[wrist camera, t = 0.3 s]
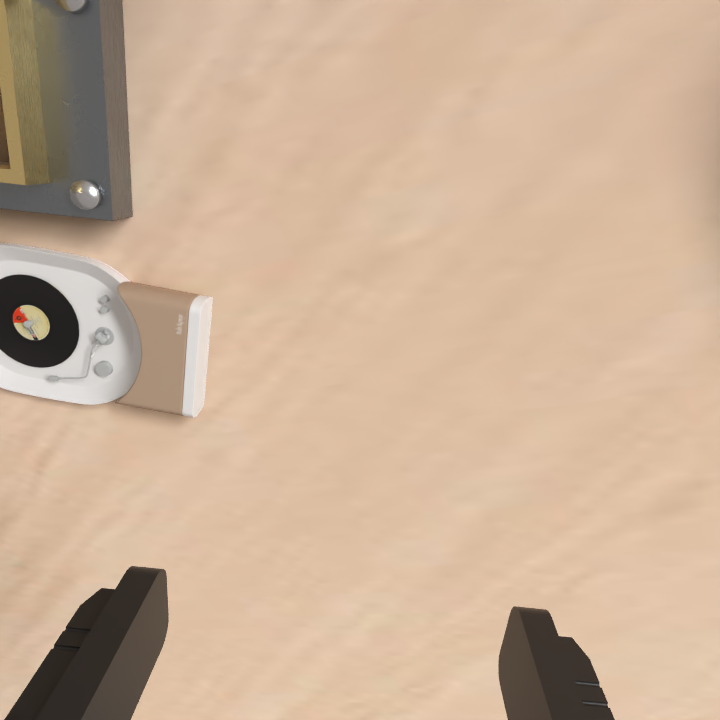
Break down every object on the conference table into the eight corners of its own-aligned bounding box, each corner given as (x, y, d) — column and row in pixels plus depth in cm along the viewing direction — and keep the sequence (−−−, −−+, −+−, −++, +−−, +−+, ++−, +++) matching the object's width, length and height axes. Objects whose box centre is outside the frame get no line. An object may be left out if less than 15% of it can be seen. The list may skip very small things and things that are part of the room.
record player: (190, 435, 41) (-69, 387, 41) (204, 417, 44) (-39, 372, 43) (202, 288, 37) (-87, 233, 36) (215, 279, 40) (-52, 228, 39)
